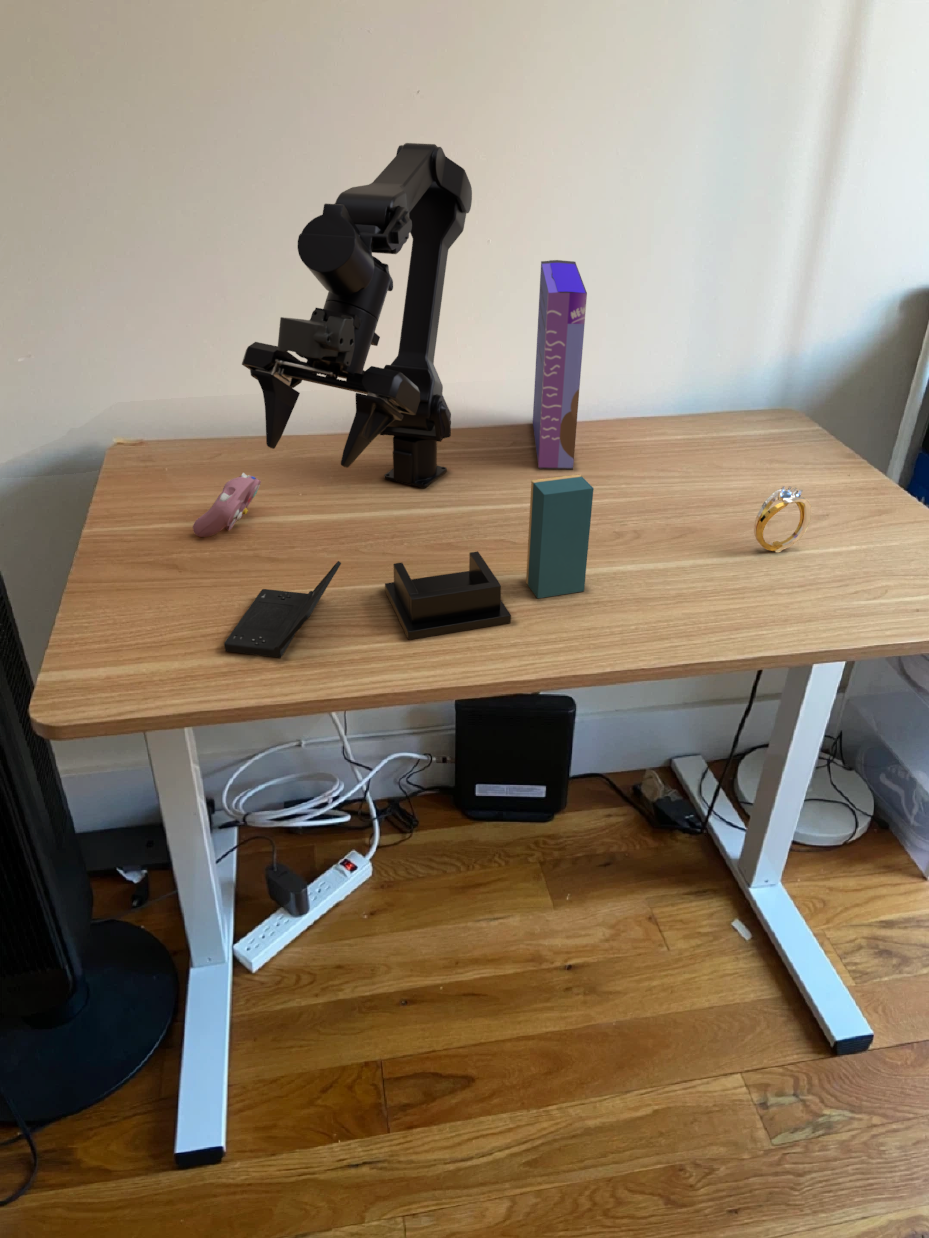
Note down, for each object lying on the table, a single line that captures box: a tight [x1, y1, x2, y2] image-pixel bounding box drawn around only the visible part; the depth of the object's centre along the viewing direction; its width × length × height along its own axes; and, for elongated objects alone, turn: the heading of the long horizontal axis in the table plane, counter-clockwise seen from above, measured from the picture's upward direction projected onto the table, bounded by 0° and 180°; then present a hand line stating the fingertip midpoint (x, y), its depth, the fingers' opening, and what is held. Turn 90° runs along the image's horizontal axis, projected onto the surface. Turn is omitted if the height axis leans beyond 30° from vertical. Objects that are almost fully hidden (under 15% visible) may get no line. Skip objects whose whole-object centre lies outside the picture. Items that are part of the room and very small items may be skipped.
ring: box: [753, 485, 812, 553], centre depth 110 cm, size 7×3×8 cm, turn 105°
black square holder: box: [384, 551, 512, 641], centre depth 100 cm, size 10×11×4 cm
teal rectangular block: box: [525, 474, 595, 599], centre depth 101 cm, size 4×6×12 cm, turn 108°
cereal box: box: [532, 259, 588, 470], centre depth 132 cm, size 17×5×24 cm, turn 179°
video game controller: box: [192, 472, 262, 538], centre depth 115 cm, size 10×5×7 cm, turn 168°
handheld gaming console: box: [223, 560, 342, 658], centre depth 96 cm, size 12×7×10 cm
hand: (306, 456), depth 98 cm, fingers open, 9 cm apart
